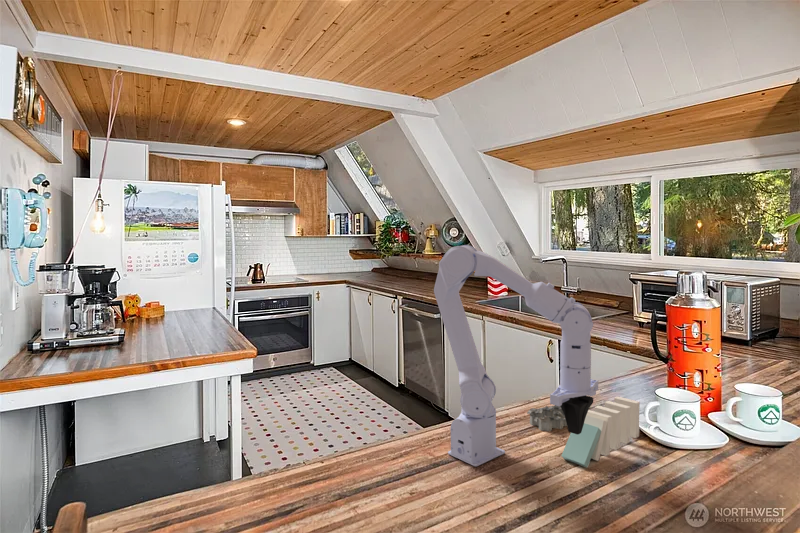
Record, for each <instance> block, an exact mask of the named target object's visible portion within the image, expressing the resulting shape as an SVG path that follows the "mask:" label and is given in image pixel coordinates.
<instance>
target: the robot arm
mask: <svg viewBox="0 0 800 533" xmlns="http://www.w3.org/2000/svg"><path fill="white" fill-rule="evenodd" d="M472 274H473V275H474V277H490V278H491V279H494V280H496V281H497V282H499V283H500V284H502V285H504V286H506V287H508V288H509V289H511V290H512V291H513V292H516V293H518V294H520V295H521V296H523V298H524V300H525V302H524V303H525V305H526V306H527V307H528V308H529V309H531V310H533V311H535V312H536V313H538V314H539V315H541V316H542V317H544V318H546V319H547V320H548V321H550V322H552V323H554V324H559V325H560V328H561V340H560V344H559V345H560V348H559V350H560V351H559V352H560V354H559V355H560V356H559V359H560V360H559V362H560V364H559V369H560V370H559V385H558V386H557V387H556V389H555V390H554V391H553V392H551V393H550V394H549V404H550V405H552V406H554V405H556V406H560V407H561V408H562V411H563V413H564V416H565V419H566V423H567V426H566V427H567V430H568V432H569V433H570V434H571V433H574V434H577V435H578V434H580V433H581V432H582V429H583V425H584V421H585V418H586V415H587V412H588V410H590V408H591V406H592V405H593V403H594V397H593V396H595V395H596V394H597V391H599V380H597V379H593V378H592V373H591V372H592V367H591V366H592V343H591V338H592V337H591V336H592V335H591V331H592V329H593V327H594V322H593V318H592V316H591V314H590V311H589V310H588V308H586V307H585V306H584V305H583V304H582V303H581V302H578V301H577V302H576V299H575V298H574V297H572V296H571V297H567V296H566V295H564V294H563V293H562V292H559V290H557V289H555V285H554V284H552V283H551V282H548V283H545V282H544V281H538V282H535V283H534V282H531V281H530V280H528V279H527V278H525V277H524V276H522V275H521V274H519V273H518V272H517V271H515V270H513V269H512V268H511V267H509V266H508V265H506V264H504V263H503V262H501V261H500V260H498V259H497V258H495V257H494V256H492V255H491V254H488V253H486V252H484V251H482V250H477V249H476V248H475V247H474V246H473V245H469V244H464V245H463V244H462V245H457V246H456V245H455V246H452V247H451V248H449V249H448V250H447V251H446V252H445V253H444V255H443V256H442V258H441V260H440V261H439V262H438V272H437V275H436V279H435V283H434V287H433V294H434V297H435V300H436V303H437V306H438V310H439V313H440V316H441V319H442V322H443V325H444V329H445V332H446V336H447V339H448V342H449V344H450V345H449V346H450V348H451V351H452V354H453V358H454V360H455V363H456V366H457V370H458V384H459V388H460V399H459V404H460V407H461V411H460V413H459V416H457V417H456V418H455V419H453V421H451V424H450V450H449V451H447V454H448V455H450V456H452V457H454V458H456V459H459V460H461V462H465V463H467V464H469V465H471V466H473V467H478V466H481V465H483V464H485V463H487V462H489V461H492V460H494V459H495V458H498V457H500V456H502V455H504V454H505V453H506V451H505V449H502V448H500V447H497V409H496V407H494V404H493V402H492V401H493V399H494V398H495V395H496V392H497V388H496V385H495V384H496V383H495V382H494V381H493V379H491V378H490V376H488V373H487V370H486V368H485V366H484V365H483V363H482V362H481V358H480V356H479V353H478V352H479V351H478V350H477V346H476V343H475V340H474V337H473V334H472V331H471V327H470V324H469V321H468V318H467V314H466V311H465V308H464V304H463V302H462V299H461V296H460V291H461V290H462V288H463V286H464V284H465V283H466V282H467V281H466V280H467V279H468V278H469V277H470V276H472Z"/></svg>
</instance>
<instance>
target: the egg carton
mask: <svg viewBox="0 0 800 533" xmlns="http://www.w3.org/2000/svg"><path fill="white" fill-rule="evenodd" d="M526 413H527V415H529V425H531V426H537V427H538V430H539V431H546V432H552V431H553V429H559V430H563V429H564V427H567V423H566V419H565V416H564V413H563V411H562V408H561V407H560V406H556V405H550V406H549V405H546V406H543V407H540V408H539V407H538V408H534V407H532V408H530V409H529V410H527V412H526ZM552 428H553V429H552Z"/></svg>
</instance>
